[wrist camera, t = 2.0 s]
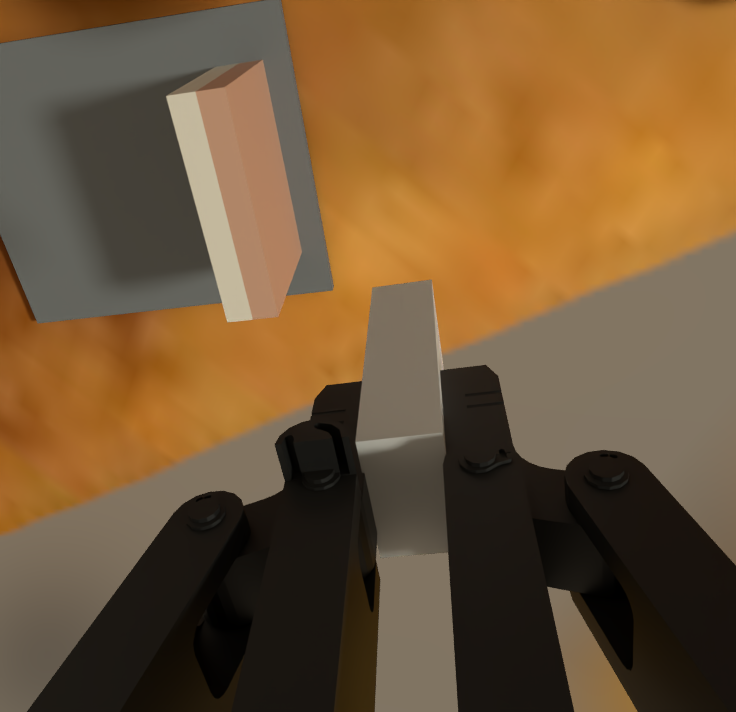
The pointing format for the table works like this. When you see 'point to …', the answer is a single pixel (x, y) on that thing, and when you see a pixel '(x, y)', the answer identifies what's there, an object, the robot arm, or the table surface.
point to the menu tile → (239, 186)
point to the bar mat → (132, 161)
